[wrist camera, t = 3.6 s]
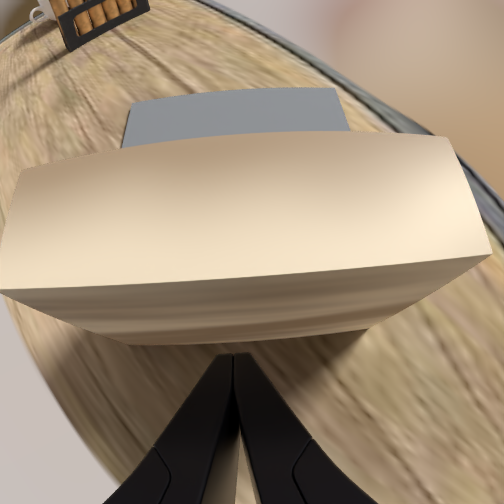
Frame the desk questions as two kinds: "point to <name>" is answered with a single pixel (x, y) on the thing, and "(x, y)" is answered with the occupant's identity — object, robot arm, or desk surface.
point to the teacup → (46, 9)
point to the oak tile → (241, 235)
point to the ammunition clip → (93, 17)
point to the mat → (234, 114)
